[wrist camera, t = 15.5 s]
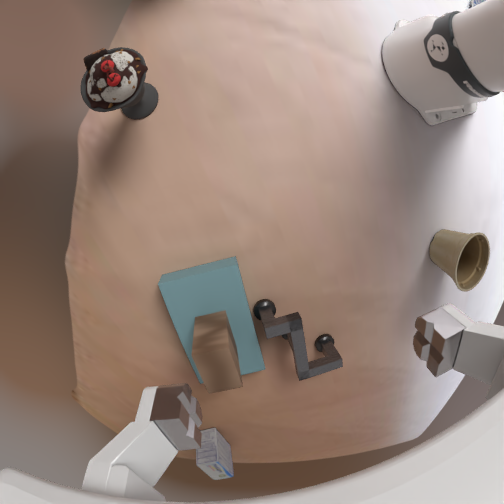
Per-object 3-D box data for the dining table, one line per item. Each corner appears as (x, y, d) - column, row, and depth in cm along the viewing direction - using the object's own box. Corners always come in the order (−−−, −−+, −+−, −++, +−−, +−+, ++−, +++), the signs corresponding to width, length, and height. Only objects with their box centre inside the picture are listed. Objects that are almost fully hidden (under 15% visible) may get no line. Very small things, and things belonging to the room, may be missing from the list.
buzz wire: (326, 281, 39) (343, 300, 33) (332, 345, 43) (346, 368, 37) (251, 302, 38) (257, 325, 33) (267, 365, 42) (275, 390, 36)
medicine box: (195, 430, 46) (195, 465, 37) (216, 426, 46) (218, 461, 37) (211, 448, 48) (213, 480, 40) (231, 444, 48) (234, 477, 40)
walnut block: (225, 310, 35) (228, 347, 27) (236, 346, 37) (242, 386, 29) (195, 317, 34) (191, 355, 27) (208, 352, 36) (208, 393, 29)
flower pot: (431, 282, 42) (462, 303, 34) (414, 245, 39) (449, 263, 31) (461, 248, 41) (493, 263, 33) (446, 209, 38) (483, 220, 30)
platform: (235, 256, 36) (237, 264, 33) (262, 357, 41) (265, 369, 38) (162, 274, 35) (158, 284, 33) (200, 370, 41) (200, 383, 38)
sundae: (166, 121, 30) (131, 90, 16) (115, 129, 29) (53, 111, 15) (166, 73, 28) (136, 18, 14) (115, 82, 27) (61, 40, 13)
